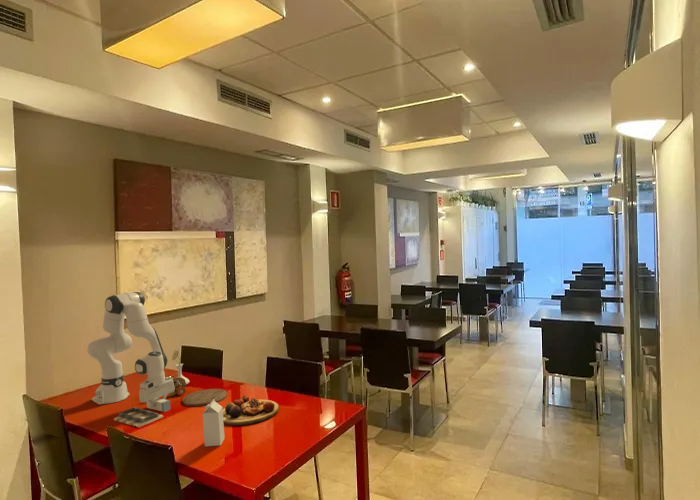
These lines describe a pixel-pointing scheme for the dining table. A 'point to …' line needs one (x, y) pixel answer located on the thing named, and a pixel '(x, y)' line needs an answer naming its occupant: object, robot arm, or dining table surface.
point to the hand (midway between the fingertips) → (158, 404)
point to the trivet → (204, 397)
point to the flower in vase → (179, 366)
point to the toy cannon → (178, 385)
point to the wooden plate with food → (248, 411)
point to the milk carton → (213, 424)
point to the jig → (137, 417)
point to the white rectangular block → (160, 404)
